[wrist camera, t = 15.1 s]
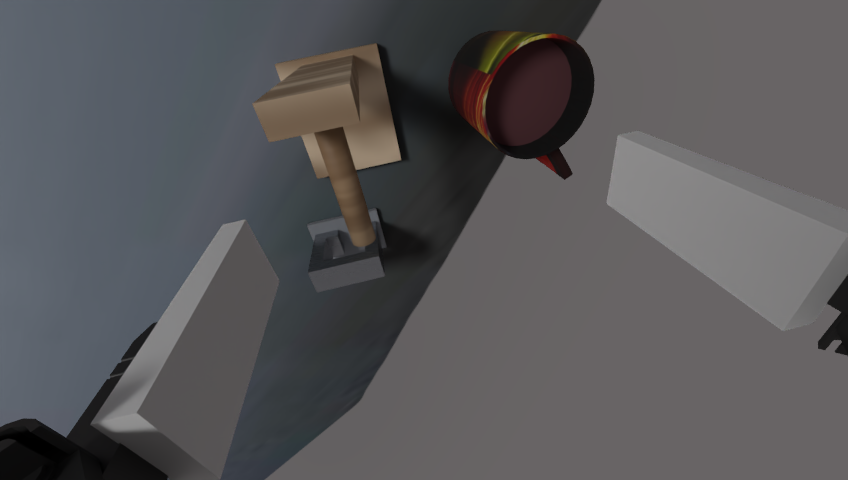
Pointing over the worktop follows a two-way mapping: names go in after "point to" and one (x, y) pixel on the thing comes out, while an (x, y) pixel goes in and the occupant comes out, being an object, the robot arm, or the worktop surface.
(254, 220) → the worktop surface
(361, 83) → the stand
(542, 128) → the mug
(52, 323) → the worktop surface
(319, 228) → the pad
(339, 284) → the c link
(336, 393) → the worktop surface
